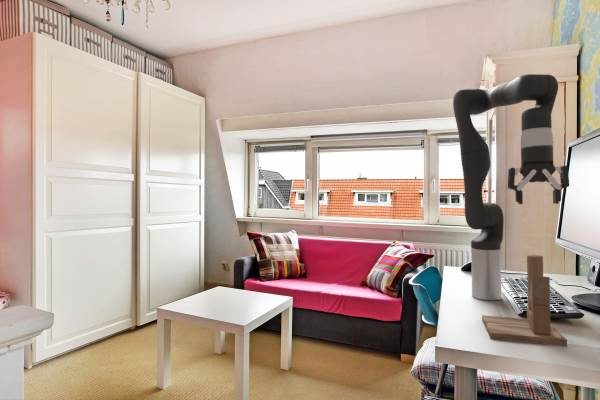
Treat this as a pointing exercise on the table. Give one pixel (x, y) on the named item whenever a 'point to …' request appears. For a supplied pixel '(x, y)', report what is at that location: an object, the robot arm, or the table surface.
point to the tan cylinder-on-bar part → (538, 296)
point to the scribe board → (519, 331)
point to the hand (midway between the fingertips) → (537, 203)
